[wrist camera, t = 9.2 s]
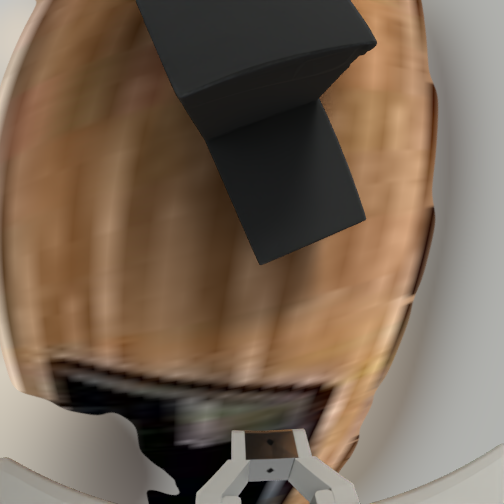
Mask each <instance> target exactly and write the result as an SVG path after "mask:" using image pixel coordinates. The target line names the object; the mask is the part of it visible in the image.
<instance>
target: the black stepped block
mask: <svg viewBox="0 0 504 504" xmlns="http://www.w3.org/2000/svg"><path fill="white" fill-rule="evenodd" d="M136 3H137V5H138V8H139V10H140V12H141V14H142V17H143V19H144V22H145V25H146V27H147V30H148V32H149V34H150V36H151V39H152V41H153V43H154V46H155V48H156V50H157V53H158V55H159V58H160V60H161V62H162V65H163V67H164V69H165V72H166V74H167V76H168V78H169V81H170V83H171V85H172V87H173V89H174V91H175V93H176V96H177V97H178V99H179V100H180V102H181V103H182V105H183V106H184V108H185V110H186V111H187V113H188V115H189V116H190V118H191V119H192V121H193V123H194V124H195V125H196V127H197V128H198V130H199V132H200V133H201V135H202V136H203V138H204V140H205V141H206V144H207V146H208V148H209V151H210V153H211V155H212V157H213V160H214V162H215V164H216V166H217V169H218V171H219V173H220V176H221V178H222V180H223V183H224V185H225V187H226V190H227V192H228V194H229V196H230V199H231V201H232V203H233V206H234V208H235V210H236V212H237V215H238V217H239V219H240V222H241V224H242V226H243V228H244V231H245V233H246V235H247V238H248V240H249V242H250V244H251V247H252V249H253V251H254V254H255V256H256V258H257V260H258V262H259V265H263V264H265V263H268V262H270V261H272V260H275V259H277V258H279V257H282V256H284V255H286V254H289V253H291V252H293V251H296V250H298V249H300V248H303V247H305V246H307V245H310V244H312V243H314V242H317V241H319V240H321V239H324V238H326V237H328V236H330V235H333V234H335V233H337V232H340V231H342V230H344V229H346V228H349V227H351V226H353V225H356V224H358V223H360V222H362V221H364V220H366V216H365V213H364V210H363V207H362V204H361V201H360V198H359V195H358V192H357V189H356V186H355V184H354V181H353V178H352V175H351V172H350V170H349V167H348V164H347V162H346V159H345V157H344V154H343V152H342V149H341V147H340V144H339V142H338V139H337V137H336V135H335V132H334V130H333V128H332V125H331V123H330V121H329V119H328V116H327V114H326V112H325V110H324V108H323V106H322V103H321V101H320V99H319V97H320V96H321V95H322V94H323V93H324V92H325V91H326V90H327V89H328V88H329V87H330V86H331V85H332V84H333V83H334V82H335V81H336V80H337V79H338V78H339V76H340V75H341V74H342V73H343V72H344V71H345V70H346V69H347V68H349V66H350V64H351V63H352V62H353V61H354V60H355V59H356V58H357V57H358V56H360V55H364V54H365V53H366V52H367V51H369V50H371V49H373V48H374V47H375V46H376V45H377V41H376V39H375V37H374V36H373V34H372V32H371V30H370V28H369V27H368V25H367V24H366V22H365V21H364V19H363V18H362V16H361V15H360V13H359V12H358V11H357V9H356V8H355V6H354V5H353V3H352V2H351V1H350V0H136Z"/></svg>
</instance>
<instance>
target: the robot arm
mask: <svg viewBox="0 0 504 504" xmlns="http://www.w3.org/2000/svg"><path fill="white" fill-rule="evenodd" d="M274 480H288V481H289V482H290V483H291V484H292V485H293V486H294V487H295V488H296V489H297V490H298V491H299V492H300V493H301V494H302V495H303V496H304V497H305V498H306V499H307V500H308V501H309V502H310V504H360V501H359V498H358V496H357V493H356V490H355V488H354V485H353V483H351V482H350V481H348V480H347V479H345V478H344V477H343V476H341V475H340V474H339V473H337V472H336V471H334V470H333V469H332V468H330V467H329V466H328V465H326V464H325V463H324V462H322V461H321V460H320V459H318V458H317V457H316V456H312V454H311V451H310V447H309V443H308V440H307V436H306V432H305V430H304V429H292V430H291V429H289V430H271V431H238V430H232V443H231V460H227V461H226V463H225V464H224V465H223V466H222V467H221V468H220V469H219V470H218V471H217V472H216V473H215V474H214V476H213V477H212V478H211V479H210V480H209V481H208V482H207V483H206V484H205V485H204V486H203V487H202V488H201V489H200V490H199V491H198V492H197V494H196V504H241V498H239V497H238V495H239V494H240V493H241V491H242V490H243V488H244V487H245V486H246V484H247V483H248V482H249V481H274ZM0 504H117V503H113V502H109V501H106V500H103V499H100V498H96V497H94V496H91V495H88V494H85V493H82V492H80V491H77V490H75V489H72V488H69V487H67V486H64V485H62V484H60V483H57V482H55V481H53V480H51V479H49V478H46V477H44V476H42V475H40V474H38V473H36V472H34V471H32V470H30V469H28V468H27V467H25V466H23V465H21V464H19V463H18V462H16V461H14V460H12V459H10V458H7V457H5V458H0ZM370 504H504V444H500V445H498V446H497V447H495V448H494V449H492V450H490V451H489V452H487V453H486V454H484V455H482V456H481V457H479V458H477V459H475V460H474V461H472V462H470V463H468V464H466V465H465V466H463V467H461V468H459V469H457V470H455V471H453V472H451V473H449V474H447V475H445V476H443V477H441V478H439V479H436V480H434V481H432V482H430V483H427V484H425V485H422V486H420V487H418V488H415V489H412V490H410V491H407V492H404V493H402V494H399V495H396V496H393V497H390V498H387V499H384V500H380V501H377V502H374V503H370Z"/></svg>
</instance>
